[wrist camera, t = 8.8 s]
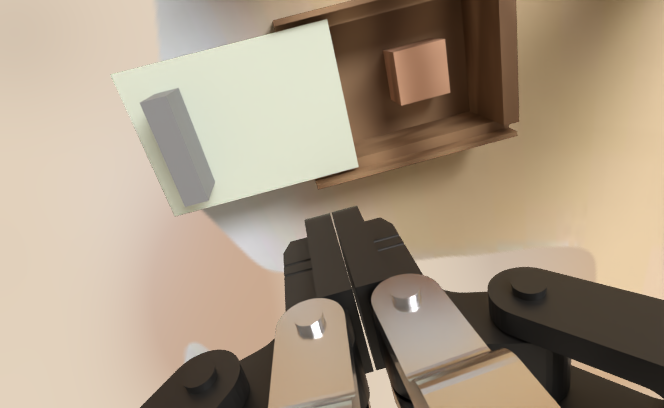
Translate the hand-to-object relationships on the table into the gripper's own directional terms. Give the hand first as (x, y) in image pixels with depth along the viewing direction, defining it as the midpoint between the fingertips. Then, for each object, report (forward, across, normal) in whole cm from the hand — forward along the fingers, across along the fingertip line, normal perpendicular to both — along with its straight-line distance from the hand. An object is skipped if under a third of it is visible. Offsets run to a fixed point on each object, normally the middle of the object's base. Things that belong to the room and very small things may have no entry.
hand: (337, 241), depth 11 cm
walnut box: (+24, -8, 0) cm, 26 cm away
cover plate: (+19, +4, 0) cm, 20 cm away
